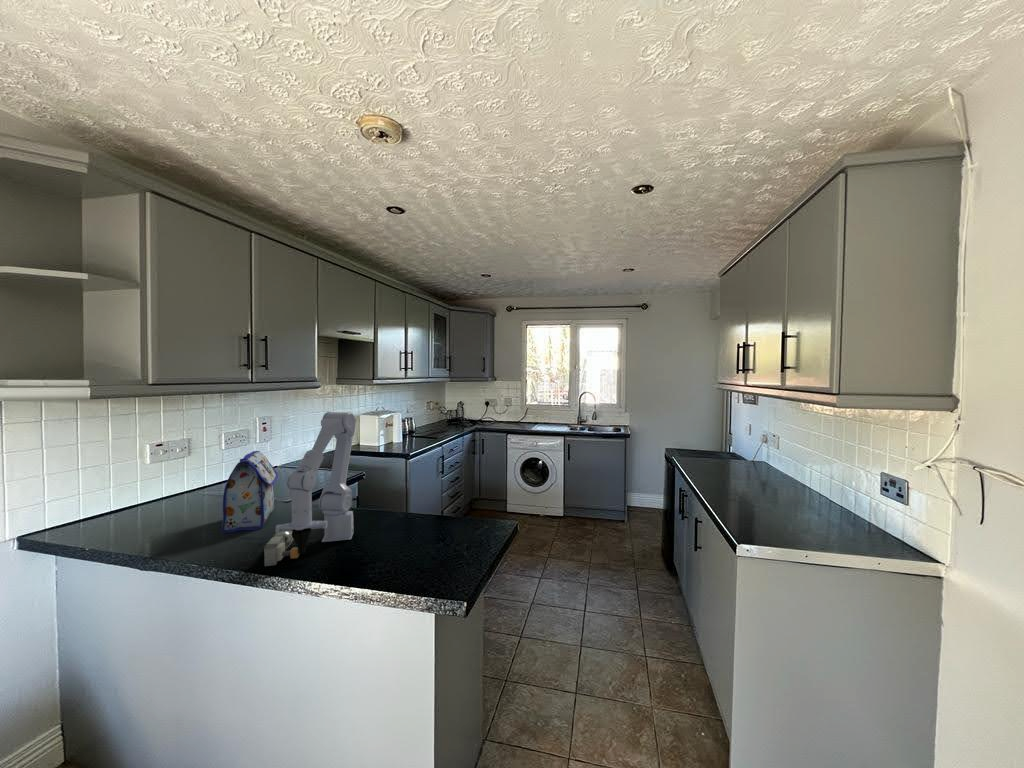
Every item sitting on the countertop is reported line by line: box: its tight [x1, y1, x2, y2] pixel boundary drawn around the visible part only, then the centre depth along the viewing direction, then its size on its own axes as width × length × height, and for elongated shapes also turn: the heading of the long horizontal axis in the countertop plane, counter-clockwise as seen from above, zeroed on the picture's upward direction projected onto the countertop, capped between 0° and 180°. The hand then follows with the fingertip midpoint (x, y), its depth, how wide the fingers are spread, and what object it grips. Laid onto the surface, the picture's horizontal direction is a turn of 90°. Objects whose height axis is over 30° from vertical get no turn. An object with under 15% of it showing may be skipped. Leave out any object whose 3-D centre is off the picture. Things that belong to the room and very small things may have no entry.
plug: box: [277, 543, 301, 562], centre depth 131 cm, size 8×4×4 cm, turn 102°
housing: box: [263, 531, 295, 567], centre depth 134 cm, size 6×17×6 cm, turn 14°
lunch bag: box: [220, 450, 278, 534], centre depth 166 cm, size 23×17×27 cm
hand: (302, 552), depth 133 cm, fingers closed
